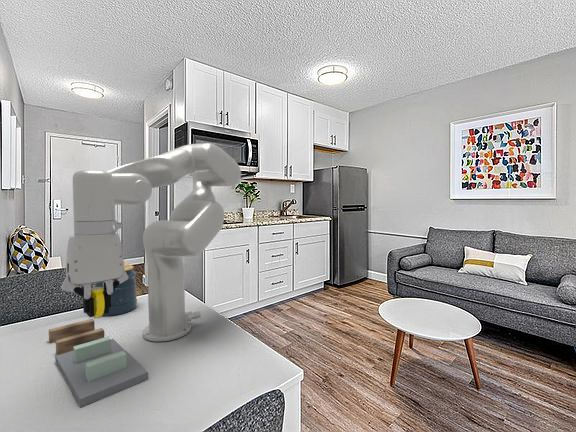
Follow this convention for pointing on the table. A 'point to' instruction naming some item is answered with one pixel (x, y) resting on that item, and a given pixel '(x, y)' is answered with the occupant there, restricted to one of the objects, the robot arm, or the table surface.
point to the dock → (100, 383)
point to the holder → (74, 335)
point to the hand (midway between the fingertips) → (97, 312)
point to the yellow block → (98, 301)
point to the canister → (122, 294)
